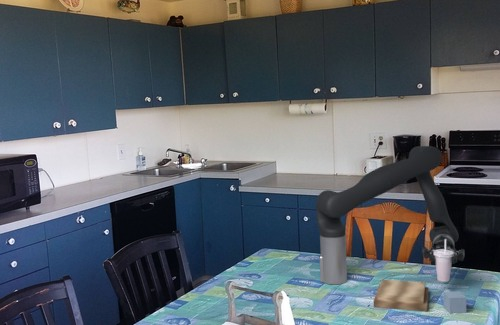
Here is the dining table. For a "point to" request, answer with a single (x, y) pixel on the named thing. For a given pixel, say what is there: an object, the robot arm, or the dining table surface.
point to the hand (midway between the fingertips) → (443, 260)
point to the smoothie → (443, 263)
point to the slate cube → (454, 302)
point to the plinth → (401, 304)
